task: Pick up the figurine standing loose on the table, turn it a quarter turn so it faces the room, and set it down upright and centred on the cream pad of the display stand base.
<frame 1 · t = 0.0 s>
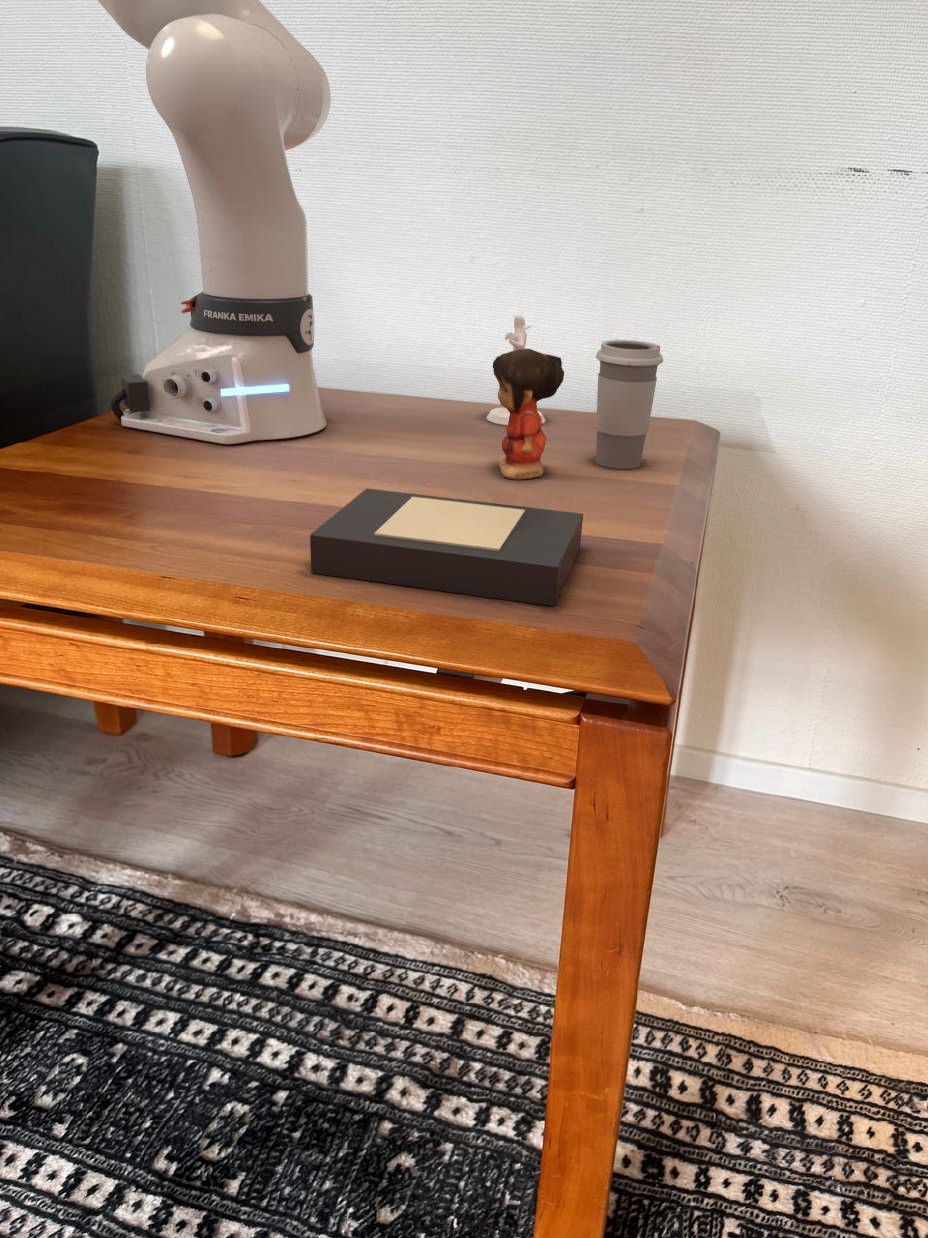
cup: (617, 464, 102), on the table
display stand base: (451, 560, 75), on the table
figurine 2: (515, 420, 119), on the table
figurine: (519, 473, 98), on the table
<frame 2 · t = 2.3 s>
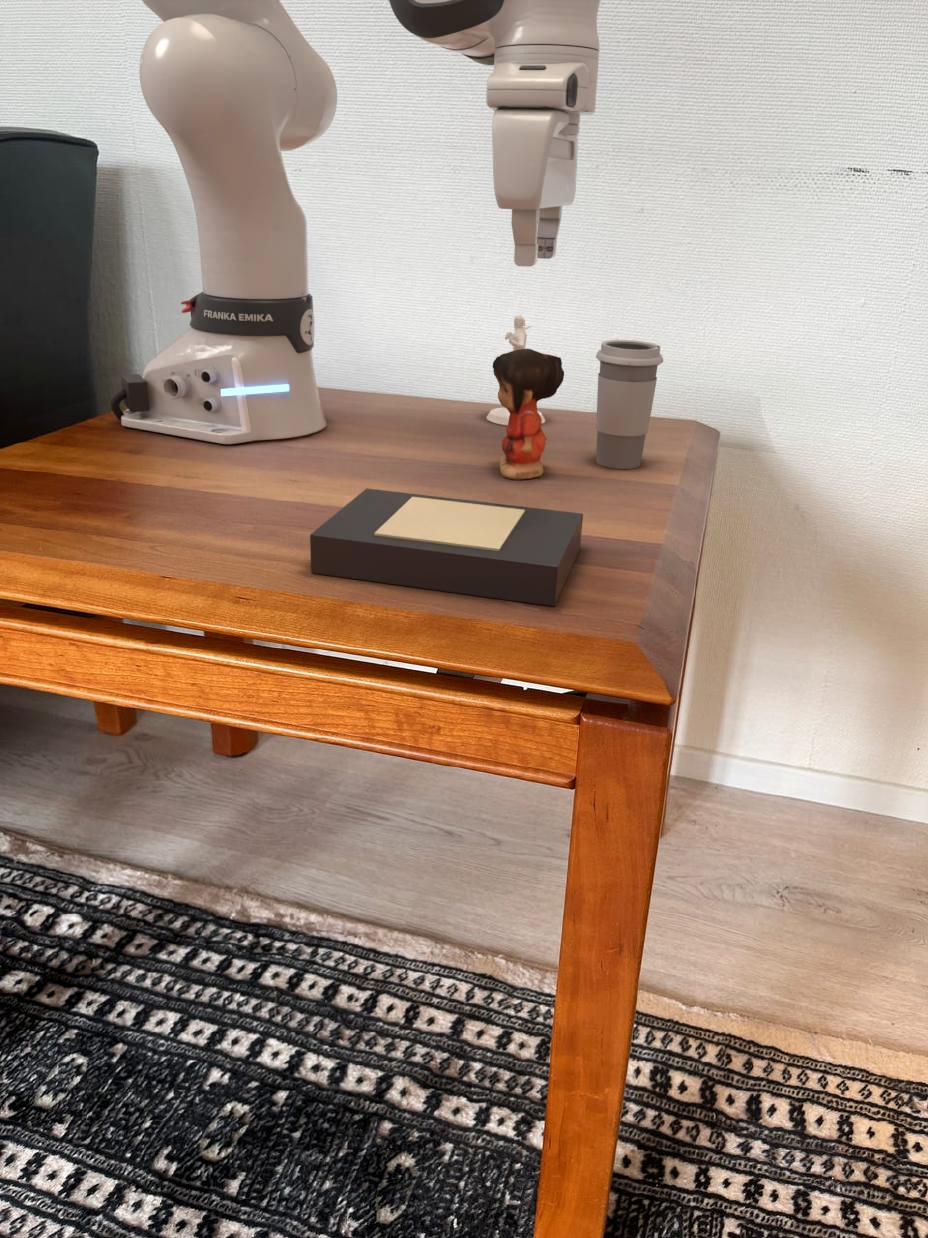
hand: (535, 261, 90), 20 cm above the table, tool pointing down, fingers open, 8 cm apart
nothing on the table moved.
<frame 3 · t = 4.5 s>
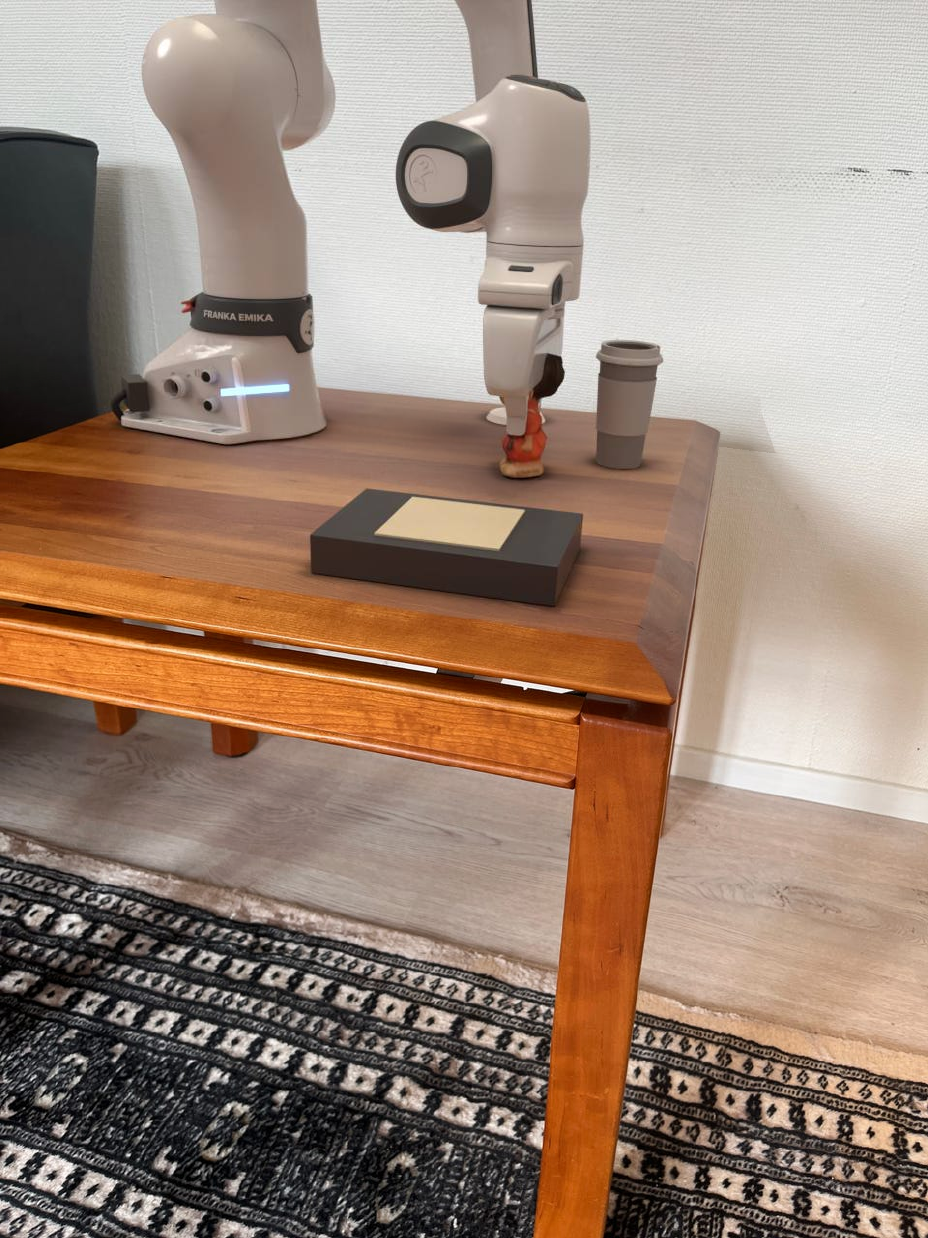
hand: (523, 426, 96), 5 cm above the table, tool pointing down, fingers closed on figurine, 5 cm apart
figurine: (519, 472, 98), on the table, touching gripper
everything else where it was.
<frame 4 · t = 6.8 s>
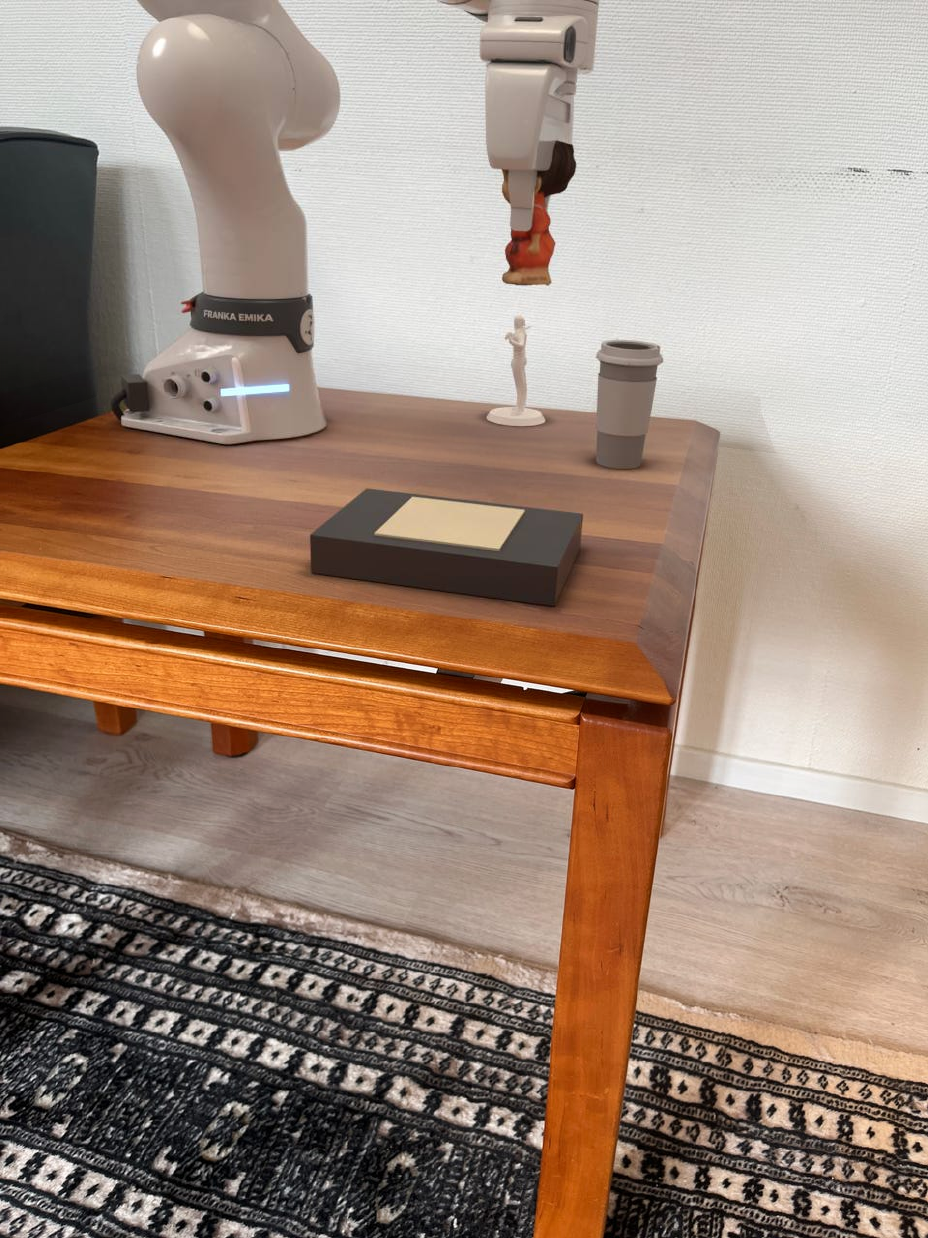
hand: (528, 228, 86), 23 cm above the table, tool pointing down, fingers closed on figurine, 5 cm apart
figurine: (524, 285, 88), point 18 cm above the table, touching gripper
everything else where it was.
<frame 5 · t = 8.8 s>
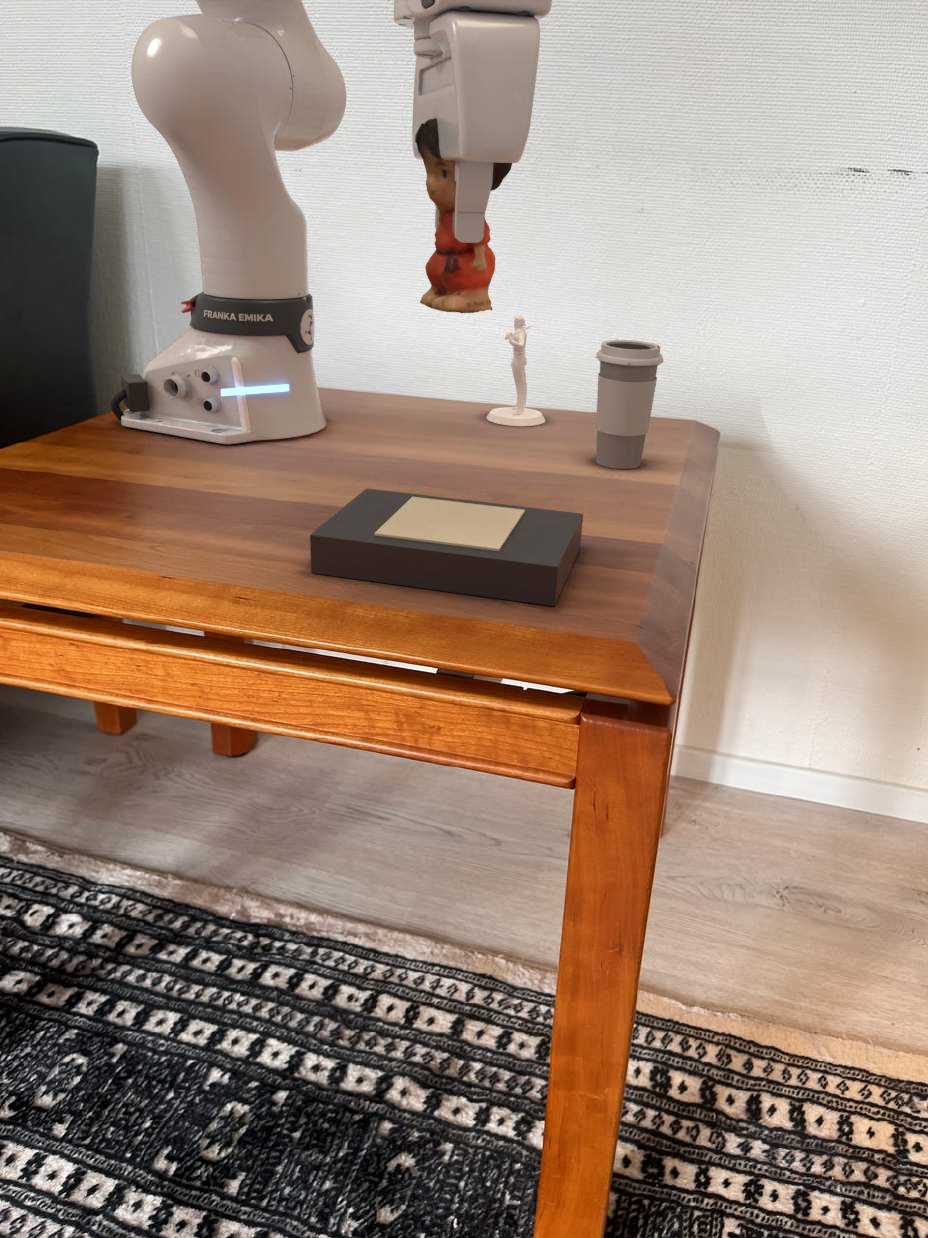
hand: (457, 238, 65), 23 cm above the table, tool pointing down, fingers closed on figurine, 5 cm apart
figurine: (455, 311, 67), point 18 cm above the table, touching gripper
everything else where it was.
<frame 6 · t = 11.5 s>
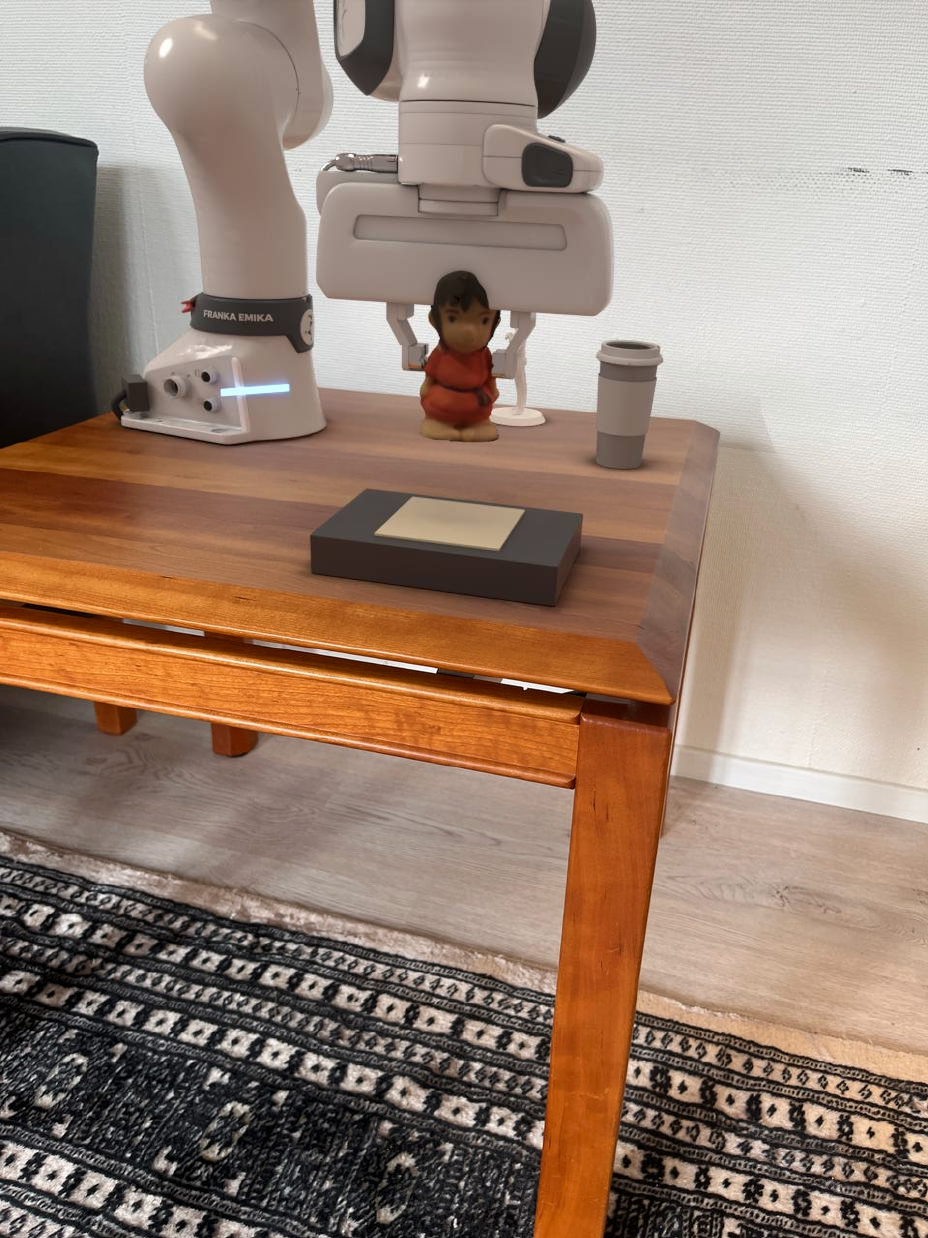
hand: (459, 373, 69), 14 cm above the table, tool pointing down, fingers closed on figurine, 5 cm apart
figurine: (457, 438, 71), point 9 cm above the table, touching gripper
everything else where it was.
when the fingers open (8 cm above the table, at t = 13.5 s): figurine stays where it is, resting on display stand base.
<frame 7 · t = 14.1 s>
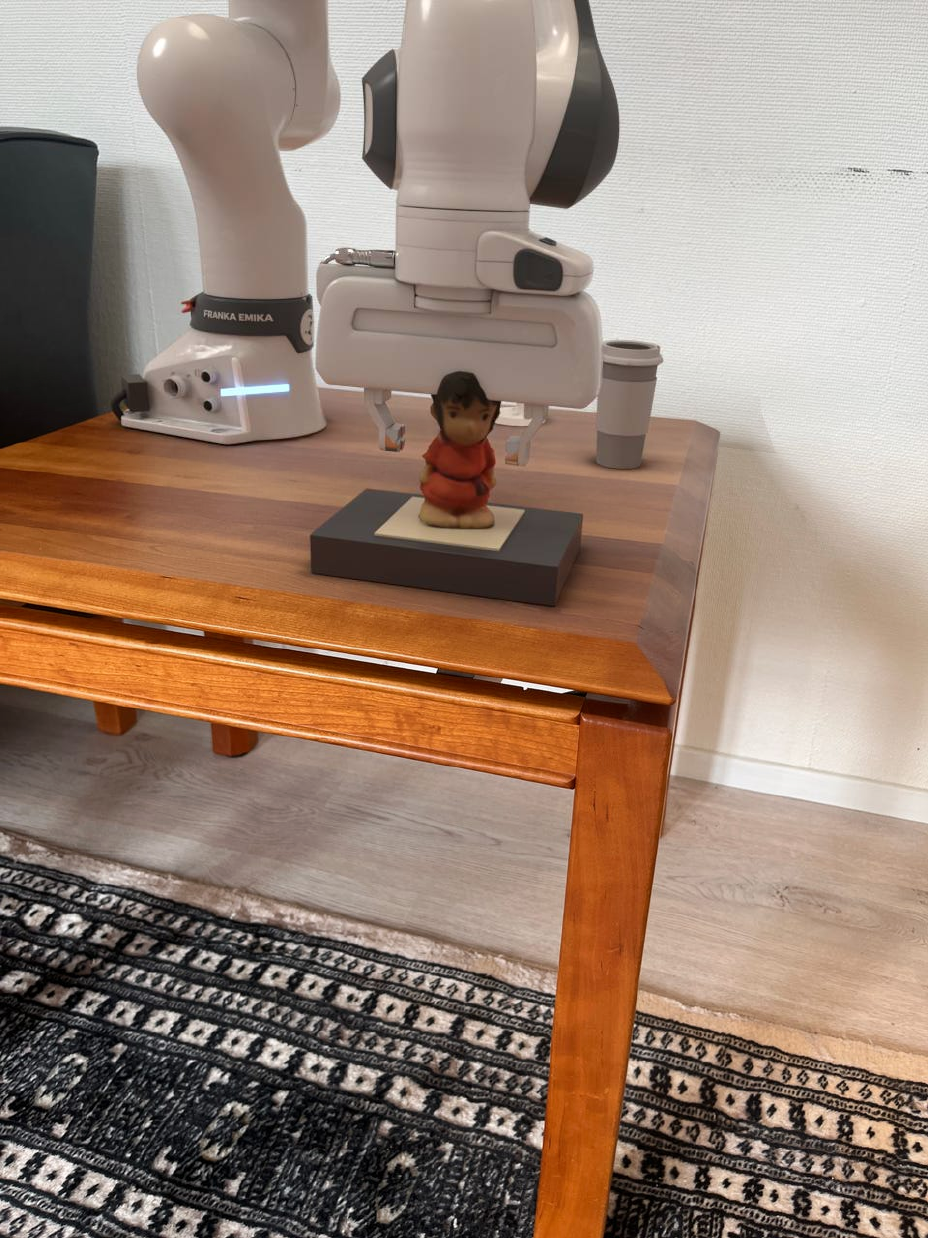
hand: (453, 456, 72), 8 cm above the table, tool pointing down, fingers open, 8 cm apart
figurine: (455, 522, 74), point 3 cm above the table, touching display stand base
everything else where it was.
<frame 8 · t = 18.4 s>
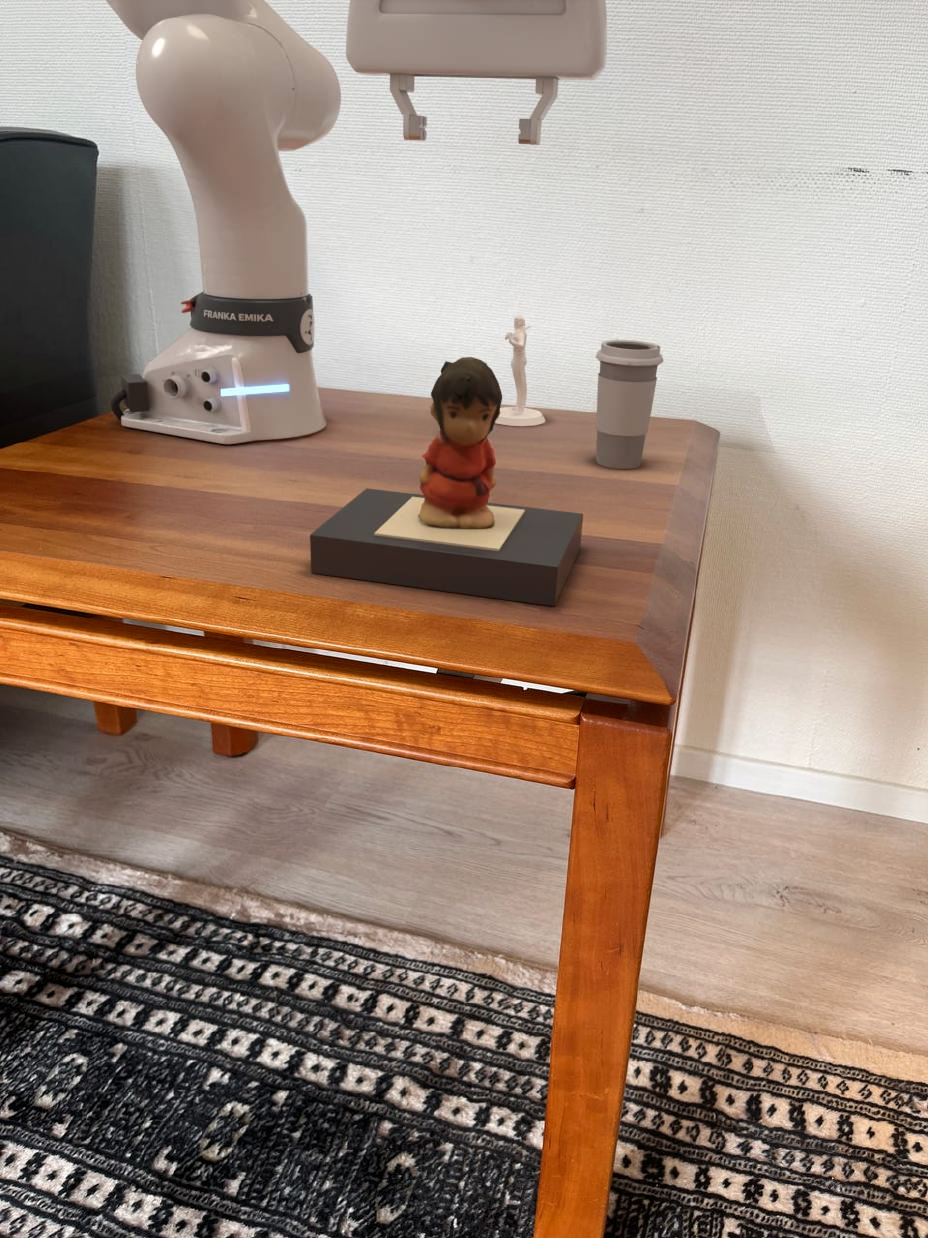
hand: (471, 142, 79), 29 cm above the table, tool pointing down, fingers open, 8 cm apart
nothing on the table moved.
at the end: figurine inside the target area on the display stand base (0.2 cm from its centre), point 3.0 cm above the display stand base's base; figurine tilted 0°; the gripper is holding nothing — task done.
